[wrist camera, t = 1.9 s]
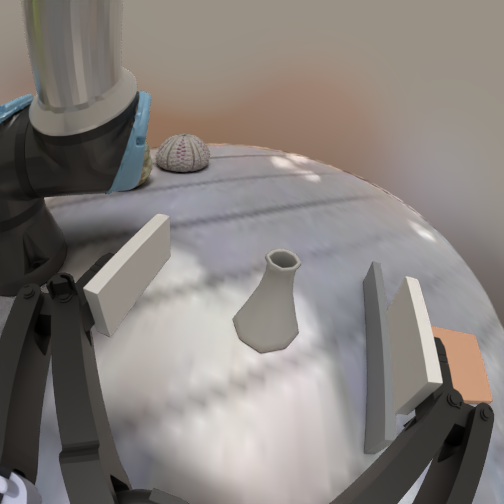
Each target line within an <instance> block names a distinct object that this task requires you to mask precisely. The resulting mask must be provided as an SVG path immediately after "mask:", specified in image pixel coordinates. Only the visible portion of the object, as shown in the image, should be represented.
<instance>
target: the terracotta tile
mask: <svg viewBox="0 0 504 504" xmlns="http://www.w3.org/2000/svg"><path fill="white" fill-rule="evenodd" d="M431 329H432V333H433V337H438V338H440V339H441V341H442V343H443V344H444V346H445V350H446V354H447V356H446V357H447V358H448V364H449V368H450V372H451V377H452V383H453V388H454V389H456V390H457V391H459V393H460V394H461V395H462V397H463V400H464V403H466V404H479V403H482V402H484V403H487V404H490V403H491V402H492V401H493V400H492V395H491V391H490V386H489V382H488V378H487V374H486V370H485V367H484V363H483V359H482V356H481V352H480V349H479V346H478V343H477V340H476V336H475V335H471V334H467V333H462V332H457V331H452V330H447V329H443V328H438V327H434V326H431Z"/></svg>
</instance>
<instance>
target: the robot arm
mask: <svg viewBox="0 0 504 504" xmlns="http://www.w3.org/2000/svg"><path fill="white" fill-rule="evenodd" d="M21 5H22V16H23V23H24V30H25V36H26V43H27V48H28V54H29V58H30V63H31V68H32V73H33V77H34V81H35V86H36V90H37V94H36V96H35V97H34V98H33V96H32V94H28V95H25V96H22V97H20V98H17V99H15V100H12V101H10V102H8V103H5V104H3V105H1V106H0V295H4V296H13V295H17V296H16V299H15V301H14V304H13V306H12V309H11V311H10V314H9V316H8V319H7V321H6V324H5V327H4V330H3V333H2V335H1V338H0V504H41V503H42V497H41V496H40V494H39V492H38V490H37V488H36V487H35V482H36V476H37V469H38V452H39V436H40V424H41V415H42V406H43V399H44V392H45V386H46V380H47V374H48V368H49V363H50V358H51V355H52V374H53V386H54V396H55V405H56V413H57V420H58V426H59V432H60V438H61V443H62V451H61V453H60V454H59V462H60V467H61V471H62V475H63V479H64V483H65V487H66V490H67V494H68V497H69V501H70V504H189V503H188V502H186V501H185V500H183V499H181V498H179V497H176V496H173V495H170V494H168V493H165V492H163V491H160V490H158V489H155V488H153V490H146V489H135V490H132V487H131V484H130V482H129V479H128V477H127V474H126V472H125V470H124V469H123V467H122V465H121V462H120V460H119V457H118V453H117V450H116V447H115V443H114V440H113V436H112V433H111V429H110V425H109V422H108V418H107V413H106V409H105V405H104V401H103V396H102V391H101V386H100V381H99V376H98V370H97V364H96V358H95V352H94V345H93V337H92V332H91V327H92V326H93V325H94V324H95V326H96V329H97V331H98V332H100V333H102V334H104V335H106V336H109V337H111V336H112V334H113V333H114V332H115V330H116V329H117V327H118V326H119V325H120V323H121V322H122V320H123V319H124V318H125V316H126V315H127V313H128V312H129V311H130V309H131V308H132V307H133V305H134V304H135V303H136V301H137V300H138V298H139V297H140V296H141V294H142V293H143V292H144V290H145V289H146V288H147V286H148V285H149V284H150V282H151V281H152V280H153V279H154V277H155V276H156V275H157V273H158V272H159V271H160V269H161V268H162V267H163V266H164V264H165V263H166V262H167V260H168V259H169V258H170V216H167V215H163V214H156V215H155V216H154V217H153V218H152V219H151V220H150V221H149V222H148V223H147V224H146V225H145V226H144V227H143V228H142V229H141V230H140V231H138V232H137V233H136V234H135V235H134V236H133V237H132V238H131V239H130V240H129V241H128V242H127V243H126V244H125V245H124V246H123V247H122V248H121V249H120V250H119V251H118V252H117V253H116V254H112V253H108V254H106V255H104V256H102V257H101V258H100V259H99V260H98V261H97V262H96V263H95V264H94V265H93V266H92V267H91V268H90V269H89V270H88V271H87V272H86V273H85V274H84V275H83V276H82V277H81V278H80V279H79V280H78V281H77V282H76V283H74V279H73V277H72V276H71V275H70V274H68V273H59V274H56V275H55V273H56V272H57V271H58V270H59V269H60V267H61V266H62V264H63V262H64V260H65V257H66V253H67V249H66V244H65V240H64V236H63V233H62V231H61V229H60V228H59V226H58V225H57V223H56V221H55V220H54V218H53V216H52V215H51V213H50V211H49V210H48V208H47V206H46V204H45V200H44V197H54V196H68V195H83V194H100V193H105V194H110V193H111V192H115V191H124V190H130V189H132V188H134V187H135V186H136V185H137V184H138V183H139V181H140V178H141V173H142V167H143V159H144V151H145V140H146V133H147V128H148V121H149V113H150V104H151V96H150V94H149V93H147V92H143V91H137V84H136V79H135V77H134V75H133V74H132V73H131V72H130V71H128V70H127V69H125V68H123V67H122V66H121V40H122V39H121V38H122V11H123V0H21ZM52 276H53V277H52ZM47 281H48V282H47ZM45 282H47V285H46V286H47V289H48V291H49V293H42V292H41V289H40V287H39V286H41V285H42V284H44V283H45ZM386 317H387V325H388V333H389V343H390V353H391V364H392V378H393V396H394V414H404V415H408V414H410V413H411V412H412V411H413V410H414V409H415V414H416V416H415V417H414V418H412V419H411V420H410V421H408V422H407V423H406V424H405V425H403V426H404V427H405V428H404V429H403V430H402V432H401V433H400V434H399V435H398V436H397V438H396V439H395V440H394V441H393V442H392V443H391V444H390V446H389V447H388V448H387V449H386V450H385V451H384V452H383V453H382V454H381V455H380V457H379V458H378V459H377V460H376V461H375V462H374V463H373V464H372V465H371V466H370V467H369V468H368V469H367V470H366V471H365V472H364V473H363V474H362V475H361V476H360V477H359V478H358V479H357V480H356V481H355V482H354V483H352V484H351V485H350V486H349V487H348V488H347V489H346V490H345V491H344V492H343V493H341V494H340V495H339V496H338V497H337V498H336V499H334V500H333V501H332V502H331V503H330V504H397V503H398V502H399V501H400V500H401V499H402V498H403V496H404V495H405V494H406V493H407V492H408V490H409V489H410V488H411V487H412V485H413V484H414V483H415V482H416V480H417V479H418V478H419V476H420V475H421V474H422V472H423V471H424V470H425V468H426V467H427V466H428V464H429V463H430V461H431V460H432V458H433V460H432V462H431V465H430V467H429V469H428V472H427V474H426V476H425V479H424V481H423V483H422V485H421V487H420V489H419V491H418V493H417V495H416V497H415V499H414V501H413V503H412V504H472V501H473V498H474V496H475V493H476V490H477V487H478V484H479V481H480V477H481V474H482V470H483V467H484V463H485V459H486V456H487V451H488V447H489V443H490V438H491V433H492V428H493V423H494V413H493V410H492V408H491V406H489V405H488V404H487V403H484V402H482V403H479V404H478V405H477V406H476V407H473V406H471V405H469V404H466V403H464V400H463V397H462V395H461V394H460V393H459V391H457V390H456V389H454V388H453V383H452V377H451V372H450V368H449V364H448V358H447V357H446V356H447V354H446V350H445V346H444V344H443V343H442V341H441V339H440V338H438V337H433V333H432V329H431V325H430V321H429V317H428V313H427V309H426V306H425V302H424V299H423V295H422V292H421V289H420V285H419V282H418V279H414V278H410V277H407V276H406V277H405V279H404V281H403V283H402V285H401V287H400V288H399V290H398V292H397V294H396V296H395V297H394V299H393V301H392V303H391V304H390V306H389V308H388V310H387V311H386Z"/></svg>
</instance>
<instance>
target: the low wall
mask: <svg viewBox="0 0 504 504" xmlns="http://www.w3.org/2000/svg"><path fill="white" fill-rule="evenodd" d="M363 288H364V301H365V317H366V339H367V412H366V433H365V447H364V453H368V454H376V453H377V452H379V451H381V450H382V449H384V448H386V447H387V446H389V445H390V444H391V443H392V442H393V441H394V440H395V439H396V438H397V421H396V414H394V396H393V378H392V364H391V353H390V343H389V333H388V325H387V317H386V311H387V310H388V307H387V300H386V294H385V288H384V282H383V276H382V270H381V265H380V263H377V262H374V261H373V262H372V264H371V266H370V268H369V271H368V273H367V275H366V277H365V279H364V281H363Z"/></svg>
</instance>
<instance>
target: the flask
mask: <svg viewBox="0 0 504 504" xmlns="http://www.w3.org/2000/svg"><path fill="white" fill-rule="evenodd" d="M265 259H266V261H267V266H266V271H265V274H264V276H263V278H262V280H261V282H260V284H259V286H258V287H257V288H256V290H255V291H254V292H253V294H252V295H251V296H250V298H249V299H248V300H247V302H246V303H245V304H244V305H243V307H242V308H241V309H240V310H239V311H238V312H237V314H236V315H235V316H234V318H233V321H234V324H235V327H236V330H237V333H238V336H239V339H241V340H242V341H244V342H245V343H247V344H248V345H250V346H251V347H253V348H254V349H256V350H257V351H259V352H260V353H263V352H268V351H274V350H279V349H284V348H286V347H287V346H288V345H289V344H290V343H291V341H292V340H293V339H294V338H295V337H296V335H297V334H298V333H299V331H298V324H297V319H296V313H295V306H294V298H293V281H294V275H295V272H296V270H297V269H298V268H299V267H300V265H301V263H302V262H301V261H300V259H299V258H298V256H297V255H296V254H295V253H293V252H291V251H289V250H287V249H273V250H271V251H270V252H269V253H267V254H266V255H265Z"/></svg>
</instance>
